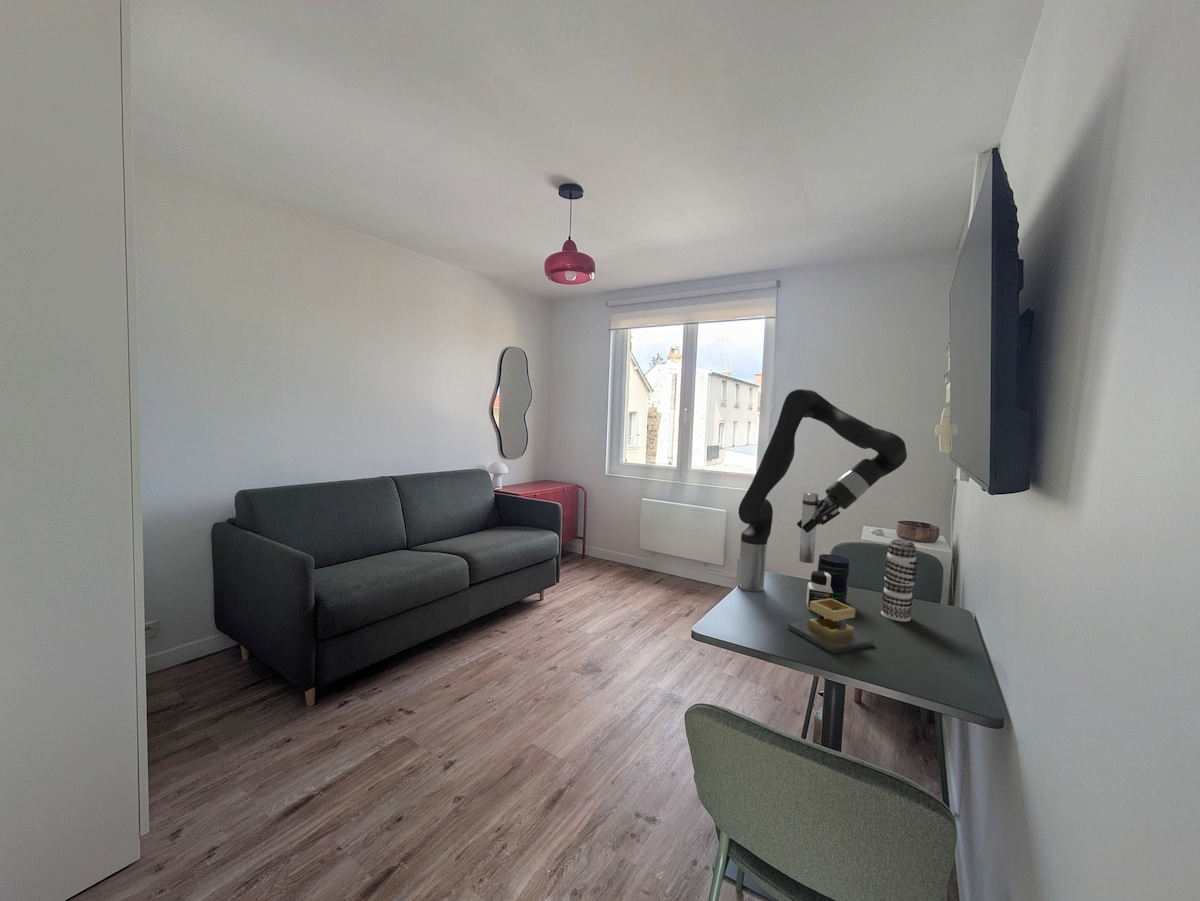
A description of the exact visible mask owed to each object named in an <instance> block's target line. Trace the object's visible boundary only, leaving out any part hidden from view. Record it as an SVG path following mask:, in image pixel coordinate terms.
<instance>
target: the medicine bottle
mask: <svg viewBox="0 0 1200 901" xmlns="http://www.w3.org/2000/svg"><path fill="white" fill-rule="evenodd" d="M810 575H811V576H810V582H807V590H806V606H807V609H808V610H810V601H815V600H822V599H829V598H833V591H832V589H831V586H830V584H831V575H830V574H828V573H826V572H823V571H818V570H814V571H812V572H811V574H810ZM829 609H831V610H833V609H832V608H829ZM810 611H811V610H810Z"/></svg>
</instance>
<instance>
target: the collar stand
mask: <svg viewBox="0 0 1200 901" xmlns="http://www.w3.org/2000/svg"><path fill="white" fill-rule="evenodd" d="M829 608H832V609H829ZM810 611H812V612H814V613H816V618H809V619H808V620H803V621H796V622H793V623H792V622H791V623H788V624H787V625H788V626H787V629H788V630H789V631H791V632H792V633H795V634H796V635H798V636H801V637H802V638H804V639H805V640H807V641H809V642H811V643H813V644H814V645H816V646H817V647H820V649H823V650H824V651H826V652H828V653H830V654H832V655H833V654H838V653H843V652H848V651H853V650H858V649H864V648H868V647H872V646H873V647H874V646H875V639H873V638H870V637H869V636H867V635H865V634H862V633H860V632H858V631H856V630H855V627H854V626H852V625H849V624H847V620H848V619H854V618H856V608H855V607H853V606H849V605H847V604H843V603H841V602H839V601H836V600H834V599H832V598H829V599H822V600H815V601H810Z"/></svg>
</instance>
